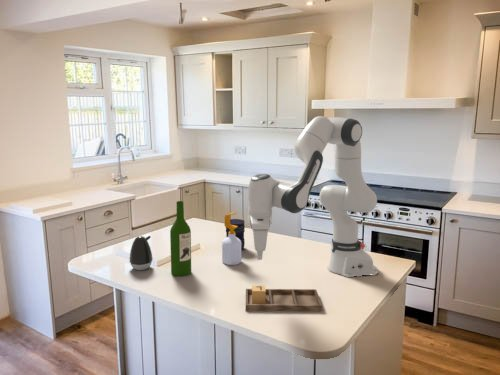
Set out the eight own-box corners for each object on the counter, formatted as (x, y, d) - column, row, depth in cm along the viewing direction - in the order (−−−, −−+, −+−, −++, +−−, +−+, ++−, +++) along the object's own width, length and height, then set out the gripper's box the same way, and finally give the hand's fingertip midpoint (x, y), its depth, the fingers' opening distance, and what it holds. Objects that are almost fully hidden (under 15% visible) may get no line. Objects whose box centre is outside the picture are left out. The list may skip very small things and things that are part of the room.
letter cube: (264, 297, 162) (265, 285, 161) (265, 303, 157) (265, 290, 156) (251, 297, 162) (252, 285, 161) (252, 303, 157) (252, 290, 156)
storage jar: (248, 248, 221) (248, 220, 218) (237, 253, 213) (237, 225, 210) (232, 244, 226) (232, 218, 223) (221, 249, 218) (221, 222, 215)
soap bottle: (234, 266, 195) (234, 215, 190) (218, 262, 199) (218, 212, 195) (244, 261, 202) (245, 211, 198) (229, 257, 207) (229, 209, 202)
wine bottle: (179, 278, 181) (178, 205, 175) (167, 272, 187) (165, 201, 181) (195, 272, 187) (194, 201, 181) (182, 267, 193) (181, 198, 187)
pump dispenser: (157, 268, 192) (156, 236, 189) (137, 274, 185) (136, 241, 182) (145, 262, 199) (144, 231, 196) (125, 268, 191) (124, 236, 189)
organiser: (315, 294, 167) (316, 289, 166) (321, 311, 153) (322, 305, 152) (245, 293, 166) (245, 288, 166) (245, 310, 153) (245, 304, 152)
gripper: (251, 211, 164) (250, 245, 166) (251, 226, 144) (250, 264, 146) (267, 211, 164) (266, 245, 166) (269, 226, 144) (269, 264, 146)
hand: (259, 254), depth 156 cm, fingers open, 8 cm apart
